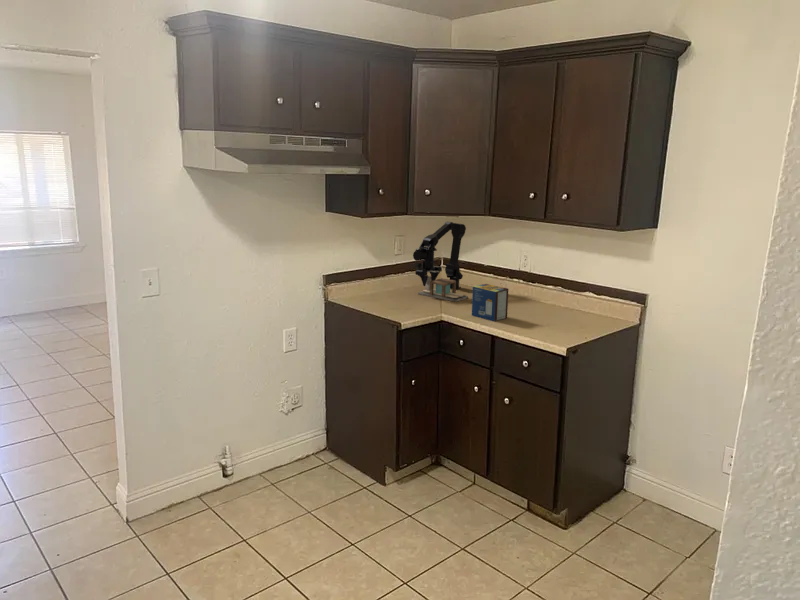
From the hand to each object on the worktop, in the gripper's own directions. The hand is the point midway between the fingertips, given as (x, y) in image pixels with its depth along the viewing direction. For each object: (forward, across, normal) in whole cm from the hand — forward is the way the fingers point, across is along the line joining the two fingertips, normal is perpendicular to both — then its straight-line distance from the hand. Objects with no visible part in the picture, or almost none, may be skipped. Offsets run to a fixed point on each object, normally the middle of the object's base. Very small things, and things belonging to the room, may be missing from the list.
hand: (428, 284), depth 367 cm
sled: (+4, 0, +10) cm, 11 cm away
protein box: (+5, +21, +54) cm, 59 cm away
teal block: (+3, 0, +10) cm, 11 cm away
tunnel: (+5, 0, +10) cm, 12 cm away
